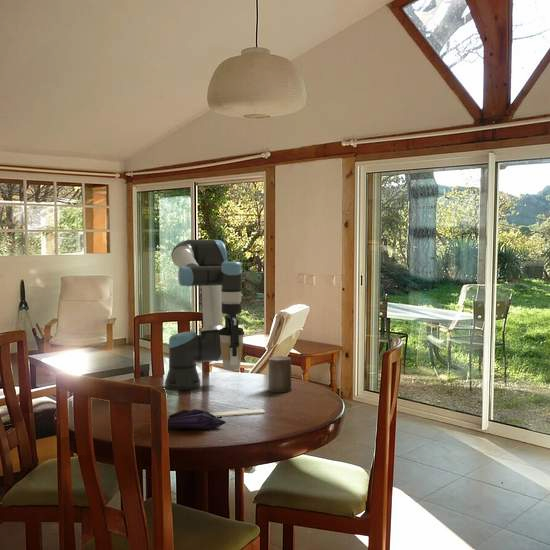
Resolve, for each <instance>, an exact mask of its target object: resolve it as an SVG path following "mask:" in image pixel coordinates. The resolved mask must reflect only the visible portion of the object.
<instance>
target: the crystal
mask: <svg viewBox="0 0 550 550" xmlns="http://www.w3.org/2000/svg"><path fill="white" fill-rule="evenodd" d="M211 413H212V412H209V411H207V410H201V409H196V408H195V409H191V410H186V409H182V410H180V411H178V412H175V413H172V414H169V415H168V418H167V419H168V426H169V428H168V429H181V428H193V429H192V430H194V428H195V429H196V430H198V429H199V430H214V429H217V428H219V427H221V426H223V425H225V424H226V421H224V420H223V417H222V416H220V417H216V416H214V415H212V414H211ZM168 426H167V427H168Z"/></svg>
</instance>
